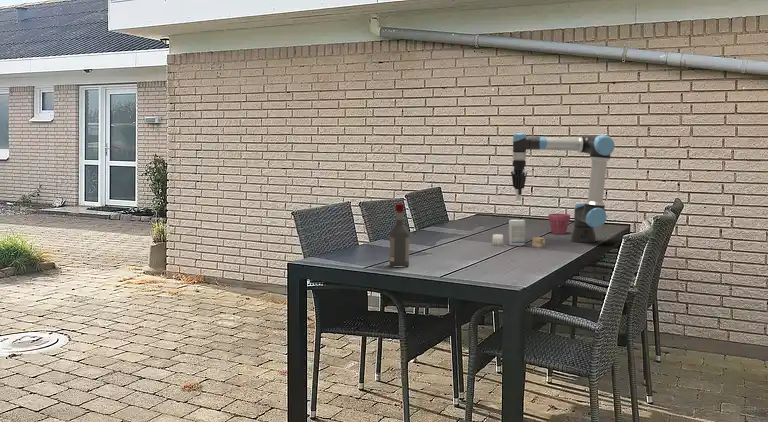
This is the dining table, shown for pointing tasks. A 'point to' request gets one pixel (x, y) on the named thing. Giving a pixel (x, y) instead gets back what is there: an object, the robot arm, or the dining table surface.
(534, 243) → the oak block
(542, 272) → the dining table surface
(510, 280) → the dining table surface
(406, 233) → the liquor
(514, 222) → the supplement tub
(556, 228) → the plant pot
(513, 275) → the dining table surface
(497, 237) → the white cube
